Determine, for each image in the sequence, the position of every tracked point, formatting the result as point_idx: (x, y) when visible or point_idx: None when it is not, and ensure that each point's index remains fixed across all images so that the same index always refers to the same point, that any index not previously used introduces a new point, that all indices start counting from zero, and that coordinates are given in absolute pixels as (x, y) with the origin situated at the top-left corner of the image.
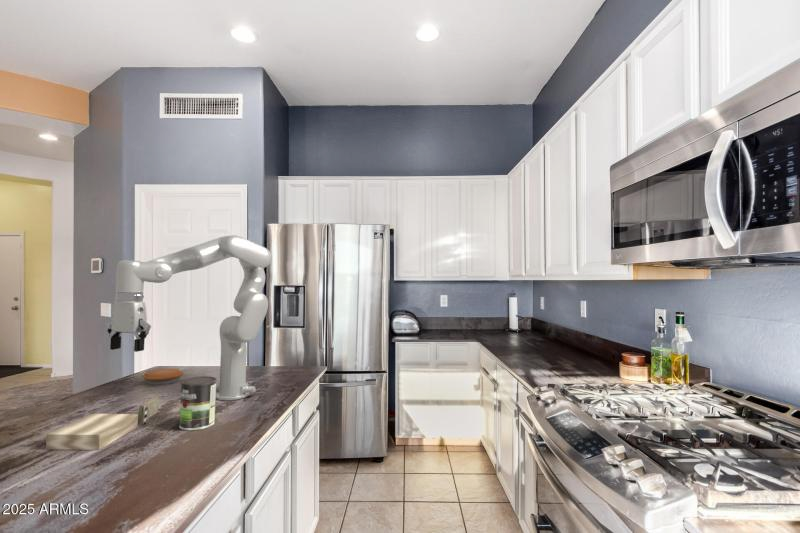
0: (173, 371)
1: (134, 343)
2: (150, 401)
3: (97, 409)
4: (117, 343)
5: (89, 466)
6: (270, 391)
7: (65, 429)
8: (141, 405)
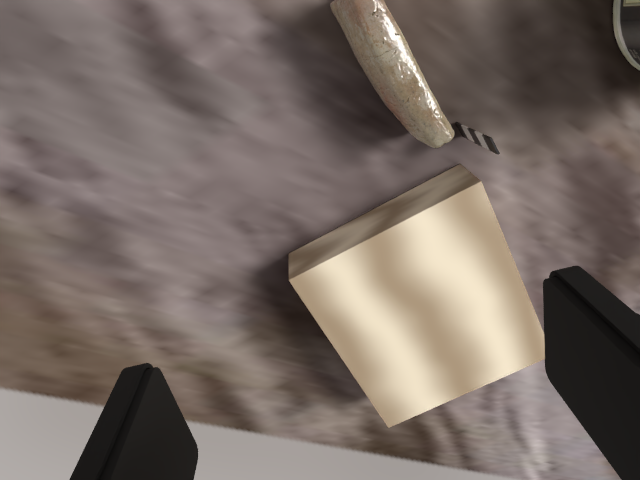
0: None
1: (622, 465)
2: (420, 73)
3: (39, 136)
4: (159, 461)
5: None
6: None
7: (395, 389)
8: (442, 143)
